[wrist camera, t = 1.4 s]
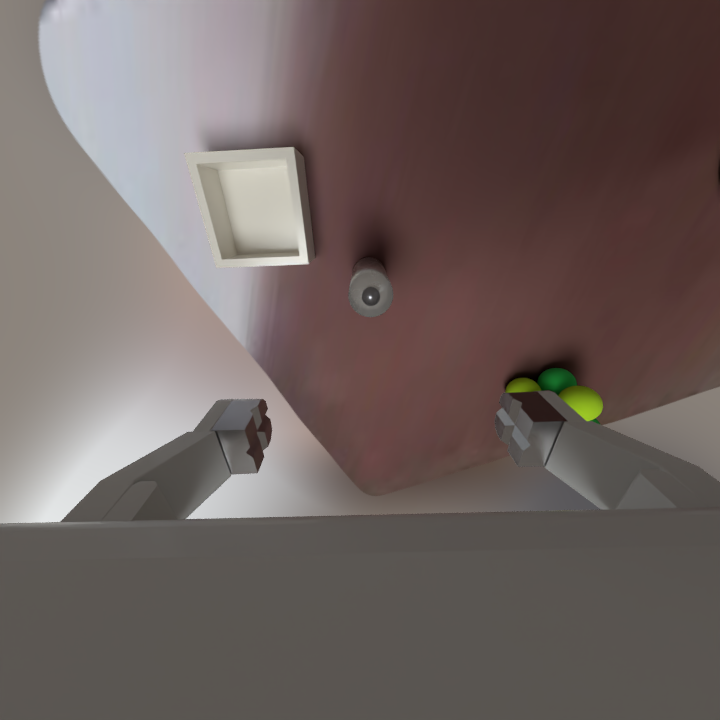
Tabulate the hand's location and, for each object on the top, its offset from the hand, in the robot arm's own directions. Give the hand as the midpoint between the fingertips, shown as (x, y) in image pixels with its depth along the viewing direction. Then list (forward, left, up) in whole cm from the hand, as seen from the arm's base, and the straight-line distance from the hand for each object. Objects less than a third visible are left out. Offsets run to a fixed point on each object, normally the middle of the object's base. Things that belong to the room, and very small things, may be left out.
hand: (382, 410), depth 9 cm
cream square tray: (+11, -7, -26) cm, 29 cm away
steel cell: (0, 0, -26) cm, 26 cm away
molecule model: (-24, +18, -26) cm, 40 cm away
